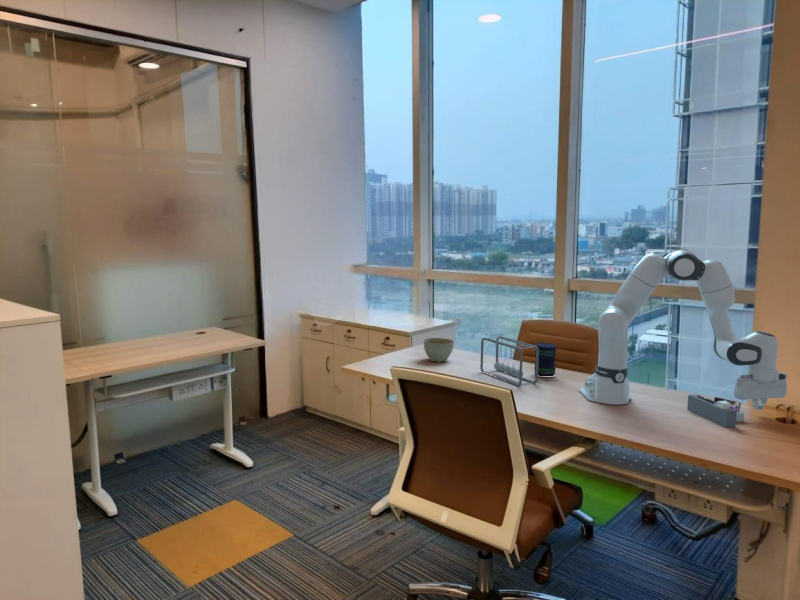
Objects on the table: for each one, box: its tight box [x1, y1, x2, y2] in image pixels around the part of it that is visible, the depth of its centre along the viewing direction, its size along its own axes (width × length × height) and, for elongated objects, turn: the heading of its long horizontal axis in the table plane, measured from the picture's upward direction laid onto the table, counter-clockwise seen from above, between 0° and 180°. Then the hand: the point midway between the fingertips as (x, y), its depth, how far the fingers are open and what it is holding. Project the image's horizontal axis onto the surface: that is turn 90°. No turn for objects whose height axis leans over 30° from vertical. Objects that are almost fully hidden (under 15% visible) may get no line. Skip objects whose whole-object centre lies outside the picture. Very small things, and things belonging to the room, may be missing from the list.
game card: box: [713, 396, 742, 413], centre depth 209 cm, size 7×5×9 cm
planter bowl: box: [423, 337, 455, 363], centre depth 292 cm, size 16×16×11 cm
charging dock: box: [686, 394, 745, 428], centre depth 206 cm, size 20×12×8 cm, turn 10°
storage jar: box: [533, 342, 557, 376], centre depth 264 cm, size 10×10×15 cm
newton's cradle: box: [480, 335, 539, 387], centre depth 258 cm, size 30×10×18 cm, turn 28°
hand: (758, 409), depth 209 cm, fingers closed
